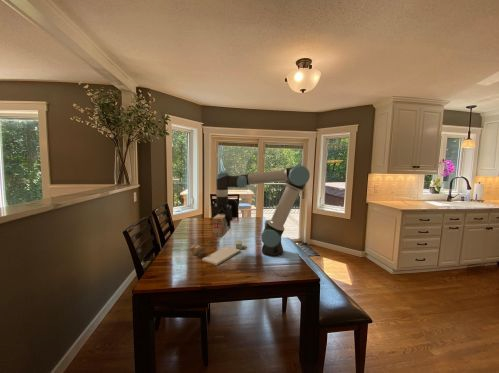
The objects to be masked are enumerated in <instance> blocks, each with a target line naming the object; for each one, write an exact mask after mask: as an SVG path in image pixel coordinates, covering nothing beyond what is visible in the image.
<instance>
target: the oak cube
mask: <svg viewBox="0 0 499 373" xmlns="http://www.w3.org/2000/svg"><path fill="white" fill-rule="evenodd" d="M198 247H201V245H198V244H192V245H191V246H190V247H189V255H192V256H197V255H198Z"/></svg>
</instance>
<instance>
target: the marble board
mask: <svg viewBox="0 0 499 373" xmlns="http://www.w3.org/2000/svg"><path fill="white" fill-rule="evenodd" d="M240 252H241V249H236V247H231V246H225V247H223V248H220V249H219V250H217V251H215V252H212V253H211V254H209V255H207V256H205V257H202V258H201V261H203V262H205V263H209V264H210V265H211V264H212V265H215V266H218V265H220V264H221V263H223V262H224V261H226V260H228V259H230V258H232V257H233V256H236V255H237V254H239V253H240Z"/></svg>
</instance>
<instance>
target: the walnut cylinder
mask: <svg viewBox="0 0 499 373" xmlns="http://www.w3.org/2000/svg"><path fill="white" fill-rule="evenodd" d="M205 257H206V247H205V246H201V245H200V247H198V258H201V259H203V258H205Z"/></svg>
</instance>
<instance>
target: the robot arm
mask: <svg viewBox="0 0 499 373" xmlns="http://www.w3.org/2000/svg"><path fill="white" fill-rule="evenodd" d="M310 175H311V174H310V171H309V169H308V168H307V167H306V166H304V165H300V164H299V165H295V166H290V167H285V169H281V170H279V169H278V170H272V171H264V172H254V173H245V174H239V175H230V174H229V173H228V172H224V171H222V172H220V171H219V172H217V173H216V179H215V180H216V195H215V196H216V200H215V201H216V203H213V204H212V206H213V208H212V214H211V215H212V216H211V217H212V219H213V218H214V217H215V216H216V215H218V214H221V211H222V212H223V214H225V216H226V220H227V221H226V231H227V232H229V231H230V229H229V226H230V221H233V219H234V218H233V212H232V208H233V207H232V205H230V204H229V203H228V202H229V196H228V195H229V188H238V189H239V188H240V189H242V188H246V187H247V186H251V185H260V184H261V185H263V184H271V183H281V182H285V189H284V191H283V193H282V194H281V197H280V199H279V201H278V204H277V206H276V208H275V211H274V213H273V215H272V217H271V219H266V220H265V221H264V229H263V231H262V232H261V235H260V236H261V242H262V243H263V245H262V247H261V253H262V254H263V255H264V256H267V257H281V256H282V255H284V247H283V244H282V236H283V233H284V232H285V223H286V221H287V220H288V218H289V215H290V213H291V211H292V209H293V207H294V203H295V202H296V200H297V197H298V195H299V193H300V192H302V191H304V189H305V186H306V184H307V183H308V182H309V180H310V177H311V176H310Z"/></svg>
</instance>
